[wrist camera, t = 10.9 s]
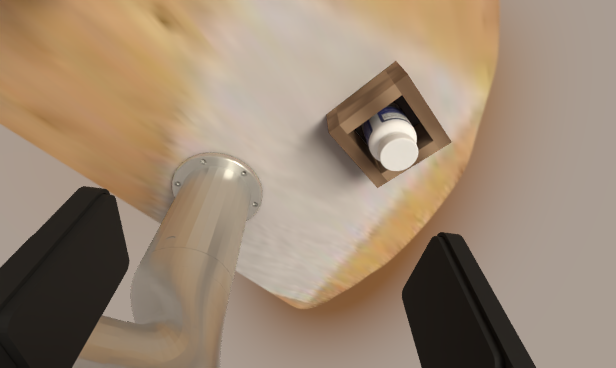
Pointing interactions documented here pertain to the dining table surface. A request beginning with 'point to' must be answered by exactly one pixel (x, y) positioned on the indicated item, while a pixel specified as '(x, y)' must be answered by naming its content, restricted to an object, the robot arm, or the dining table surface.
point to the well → (371, 102)
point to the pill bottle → (391, 138)
